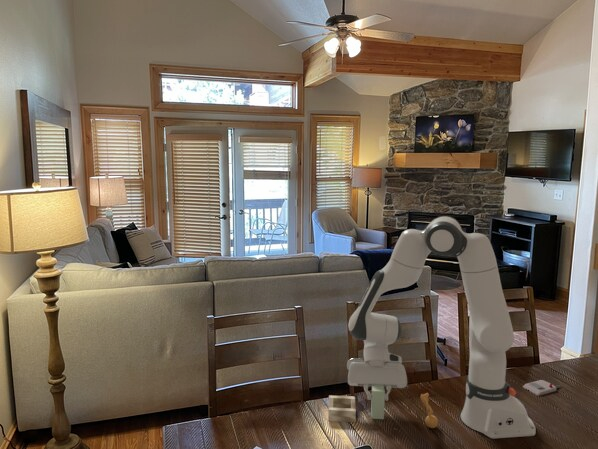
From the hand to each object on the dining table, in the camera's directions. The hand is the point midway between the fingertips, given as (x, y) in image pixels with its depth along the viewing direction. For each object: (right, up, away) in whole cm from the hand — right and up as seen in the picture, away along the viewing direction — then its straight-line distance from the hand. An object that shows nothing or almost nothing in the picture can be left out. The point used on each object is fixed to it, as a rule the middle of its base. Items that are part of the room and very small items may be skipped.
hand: (377, 399), depth 148 cm
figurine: (+15, -7, -5) cm, 18 cm away
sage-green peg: (0, -6, +1) cm, 6 cm away
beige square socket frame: (-12, -6, +2) cm, 13 cm away
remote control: (+66, -4, +19) cm, 68 cm away
